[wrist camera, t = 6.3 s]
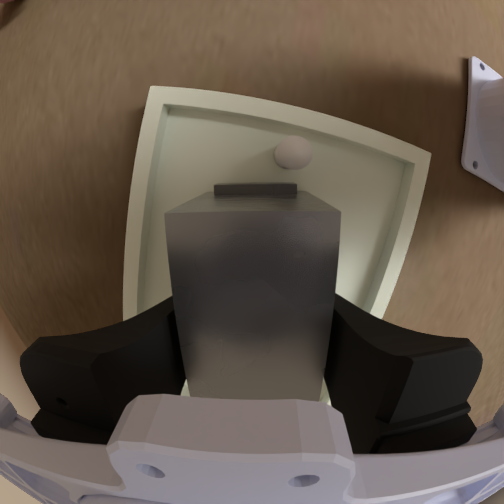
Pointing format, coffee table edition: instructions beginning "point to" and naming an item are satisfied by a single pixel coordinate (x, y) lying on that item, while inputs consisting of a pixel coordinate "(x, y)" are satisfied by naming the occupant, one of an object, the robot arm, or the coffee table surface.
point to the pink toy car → (5, 1)
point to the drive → (254, 289)
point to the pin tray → (271, 170)
